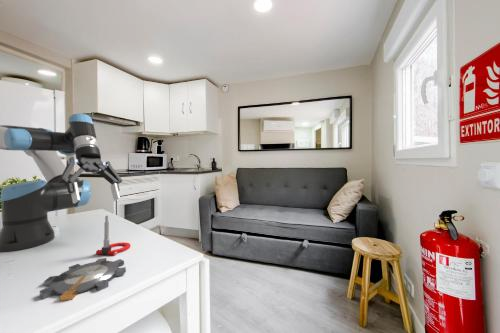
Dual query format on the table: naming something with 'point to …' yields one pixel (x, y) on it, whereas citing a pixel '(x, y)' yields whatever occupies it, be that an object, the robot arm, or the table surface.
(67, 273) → the sprocket plate
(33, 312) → the table surface
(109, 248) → the tow hook
